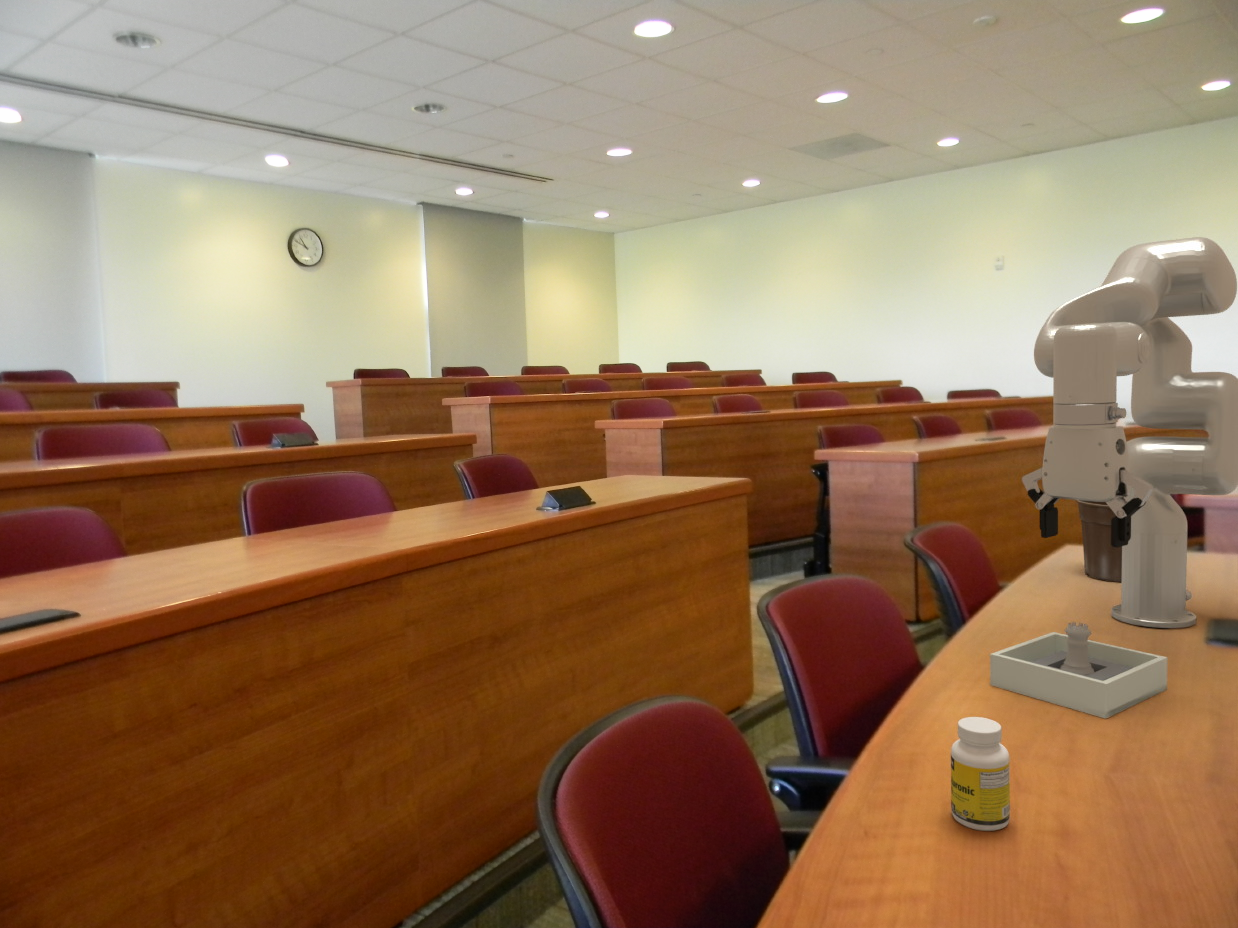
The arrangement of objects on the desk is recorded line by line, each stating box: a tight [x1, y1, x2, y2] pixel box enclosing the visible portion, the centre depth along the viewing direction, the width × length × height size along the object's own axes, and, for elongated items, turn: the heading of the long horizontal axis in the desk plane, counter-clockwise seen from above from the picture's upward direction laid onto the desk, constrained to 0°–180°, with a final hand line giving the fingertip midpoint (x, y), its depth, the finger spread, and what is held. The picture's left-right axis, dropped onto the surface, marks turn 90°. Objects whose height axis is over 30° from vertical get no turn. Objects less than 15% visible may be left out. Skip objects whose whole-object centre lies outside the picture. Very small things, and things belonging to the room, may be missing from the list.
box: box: [989, 631, 1168, 719], centre depth 121 cm, size 16×16×4 cm
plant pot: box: [1075, 500, 1122, 583], centre depth 181 cm, size 16×16×16 cm
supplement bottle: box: [950, 716, 1011, 832], centre depth 87 cm, size 5×5×10 cm
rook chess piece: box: [1060, 621, 1094, 676], centre depth 121 cm, size 4×4×8 cm
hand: (1083, 541), depth 120 cm, fingers open, 9 cm apart
